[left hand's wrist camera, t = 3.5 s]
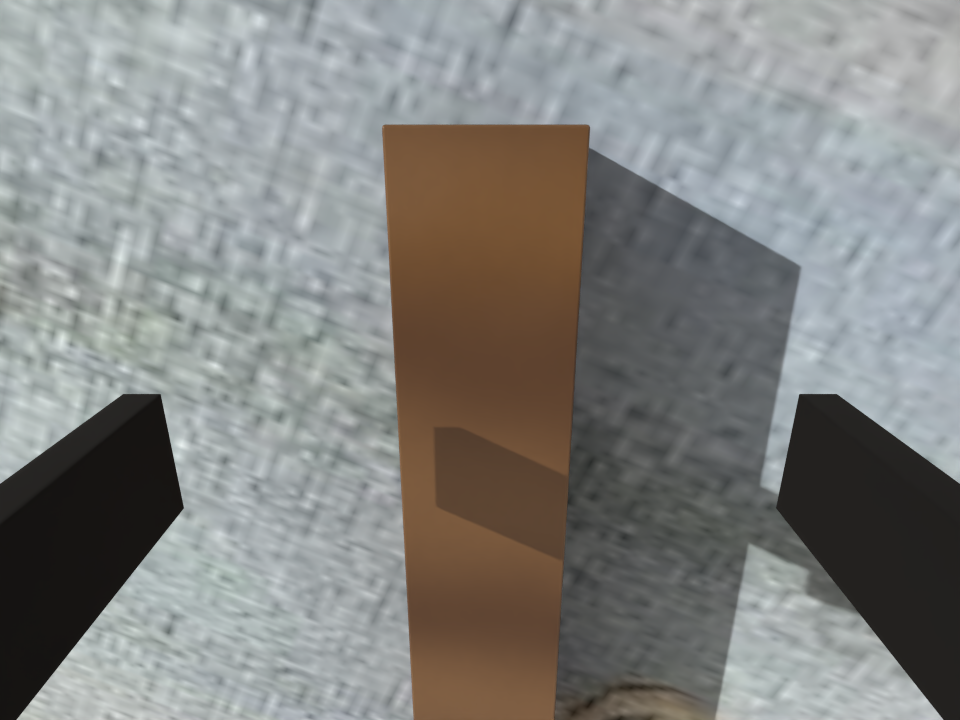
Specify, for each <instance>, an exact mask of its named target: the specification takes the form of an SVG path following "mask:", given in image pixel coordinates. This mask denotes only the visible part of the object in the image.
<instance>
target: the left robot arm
mask: <svg viewBox="0 0 960 720" xmlns="http://www.w3.org/2000/svg"><path fill="white" fill-rule="evenodd" d="M183 509H184V507H183V502H182V497H181V492H180V487H179V482H178V477H177V472H176V467H175V463H174V458H173V453H172V448H171V443H170V438H169V433H168V428H167V423H166V418H165V414H164V409H163V404H162V399H161V394H123V395H121V396H120V397H119V398H117V399H116V400H115V401H113V402H112V403H110V404H109V405H108V406H106V407H105V408H104V409H102V410H101V411H100V412H98V413H97V414H95V415H94V416H93V417H91V418H90V419H89V420H87V421H86V422H84V423H83V424H82V425H80V426H79V427H78V428H76V429H75V430H73V431H72V432H71V433H69V434H68V435H67V436H65V437H64V438H63V439H61V440H60V441H58V442H57V443H56V444H54V445H53V446H52V447H50V448H49V449H47V450H46V451H45V452H43V453H42V454H41V455H39V456H38V457H36V458H35V459H34V460H32V461H31V462H30V463H28V464H27V465H25V466H24V467H23V468H21V469H20V470H19V471H17V472H16V473H15V474H13V475H12V476H10V477H9V478H8V479H6V480H5V481H4V482H2V483H1V484H0V720H17V718H18V717H19V716H20V714H21V713H22V712H23V711H24V709H25V708H26V707H27V706H28V704H29V703H30V702H31V701H32V699H33V698H34V697H35V696H36V694H37V693H38V692H39V690H40V689H41V688H42V687H43V685H44V684H45V683H46V682H47V680H48V679H49V678H50V677H51V675H52V674H53V673H54V672H55V670H56V669H57V668H58V666H59V665H60V664H61V663H62V661H63V660H64V659H65V658H66V656H67V655H68V654H69V653H70V651H71V650H72V649H73V648H74V646H75V645H76V644H77V642H78V641H79V640H80V639H81V637H82V636H83V635H84V634H85V632H86V631H87V630H88V629H89V627H90V626H91V625H92V624H93V622H94V621H95V620H96V618H97V617H98V616H99V615H100V613H101V612H102V611H103V610H104V608H105V607H106V606H107V605H108V603H109V602H110V601H111V600H112V598H113V597H114V596H115V594H116V593H117V592H118V591H119V589H120V588H121V587H122V586H123V584H124V583H125V582H126V581H127V579H128V578H129V577H130V576H131V574H132V573H133V572H134V570H135V569H136V568H137V567H138V565H139V564H140V563H141V562H142V560H143V559H144V558H145V557H146V555H147V554H148V553H149V552H150V550H151V549H152V548H153V546H154V545H155V544H156V543H157V541H158V540H159V539H160V538H161V536H162V535H163V534H164V533H165V531H166V530H167V529H168V528H169V526H170V525H171V524H172V522H173V521H174V520H175V519H176V517H177V516H178V515H179V514H180V512H181V511H182V510H183ZM776 509H777V510H778V511H779V512H780V514H781V515H782V516H783V517H784V519H785V520H786V521H787V522H788V524H789V525H790V526H791V528H792V529H793V530H794V531H795V533H796V534H797V535H798V536H799V538H800V539H801V540H802V541H803V543H804V544H805V545H806V546H807V548H808V549H809V550H810V552H811V553H812V554H813V555H814V557H815V558H816V559H817V560H818V562H819V563H820V564H821V565H822V567H823V568H824V569H825V570H826V572H827V573H828V574H829V576H830V577H831V578H832V579H833V581H834V582H835V583H836V584H837V586H838V587H839V588H840V589H841V591H842V592H843V593H844V594H845V596H846V597H847V598H848V600H849V601H850V602H851V603H852V605H853V606H854V607H855V608H856V610H857V611H858V612H859V613H860V615H861V616H862V617H863V618H864V620H865V621H866V622H867V624H868V625H869V626H870V627H871V629H872V630H873V631H874V632H875V634H876V635H877V636H878V637H879V639H880V640H881V641H882V642H883V644H884V645H885V646H886V648H887V649H888V650H889V651H890V653H891V654H892V655H893V656H894V658H895V659H896V660H897V661H898V663H899V664H900V665H901V666H902V668H903V669H904V670H905V672H906V673H907V674H908V675H909V677H910V678H911V679H912V680H913V682H914V683H915V684H916V685H917V687H918V688H919V689H920V690H921V692H922V693H923V694H924V696H925V697H926V698H927V699H928V701H929V702H930V703H931V704H932V706H933V707H934V708H935V709H936V711H937V712H938V713H939V714H940V716H941V717H942V718H943V720H960V484H959V483H958V482H956V481H955V480H954V479H952V478H951V477H950V476H948V475H947V474H945V473H944V472H943V471H941V470H940V469H939V468H937V467H936V466H935V465H933V464H932V463H930V462H929V461H928V460H926V459H925V458H924V457H922V456H921V455H919V454H918V453H917V452H915V451H914V450H913V449H911V448H910V447H908V446H907V445H906V444H904V443H903V442H902V441H900V440H899V439H897V438H896V437H895V436H893V435H892V434H891V433H889V432H888V431H887V430H885V429H884V428H882V427H881V426H880V425H878V424H877V423H876V422H874V421H873V420H871V419H870V418H869V417H867V416H866V415H865V414H863V413H862V412H860V411H859V410H858V409H856V408H855V407H854V406H852V405H851V404H850V403H848V402H847V401H845V400H844V399H843V398H841V397H840V396H839V395H837V394H799V399H798V404H797V409H796V414H795V418H794V423H793V428H792V433H791V438H790V443H789V448H788V453H787V458H786V463H785V467H784V472H783V477H782V482H781V487H780V492H779V497H778V502H777V507H776Z"/></svg>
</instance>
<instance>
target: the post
mask: <svg viewBox="0 0 960 720" xmlns="http://www.w3.org/2000/svg"><path fill="white" fill-rule="evenodd" d="M382 134H383V153H384V172H385V190H386V209H387V228H388V247H389V265H390V284H391V303H392V322H393V340H394V359H395V378H396V397H397V415H398V434H399V453H400V472H401V491H402V509H403V528H404V547H405V566H406V584H407V603H408V622H409V641H410V659H411V678H412V697H413V716H414V720H555V703H556V686H557V670H558V653H559V636H560V620H561V603H562V586H563V570H564V553H565V536H566V520H567V503H568V486H569V470H570V453H571V436H572V420H573V403H574V386H575V370H576V353H577V337H578V320H579V303H580V287H581V270H582V253H583V237H584V220H585V203H586V187H587V170H588V153H589V137H590V126H589V125H383V127H382Z"/></svg>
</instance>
